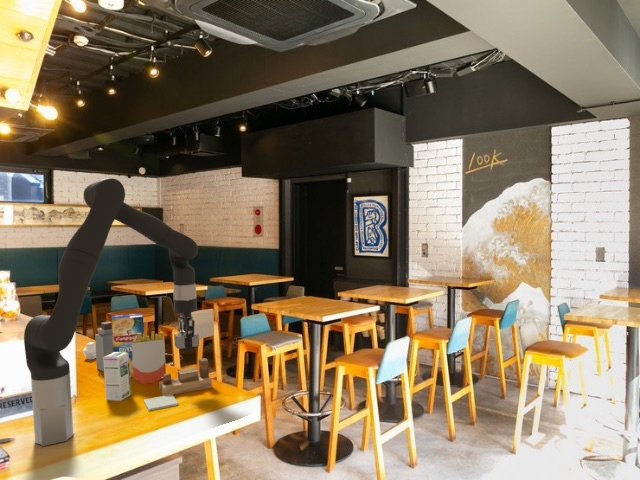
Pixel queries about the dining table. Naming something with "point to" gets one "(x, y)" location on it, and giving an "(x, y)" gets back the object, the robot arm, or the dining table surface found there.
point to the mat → (160, 402)
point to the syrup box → (117, 376)
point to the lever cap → (181, 340)
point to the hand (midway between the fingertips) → (186, 346)
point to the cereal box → (126, 334)
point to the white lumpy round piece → (90, 350)
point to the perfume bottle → (103, 343)
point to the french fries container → (148, 358)
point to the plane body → (187, 380)
